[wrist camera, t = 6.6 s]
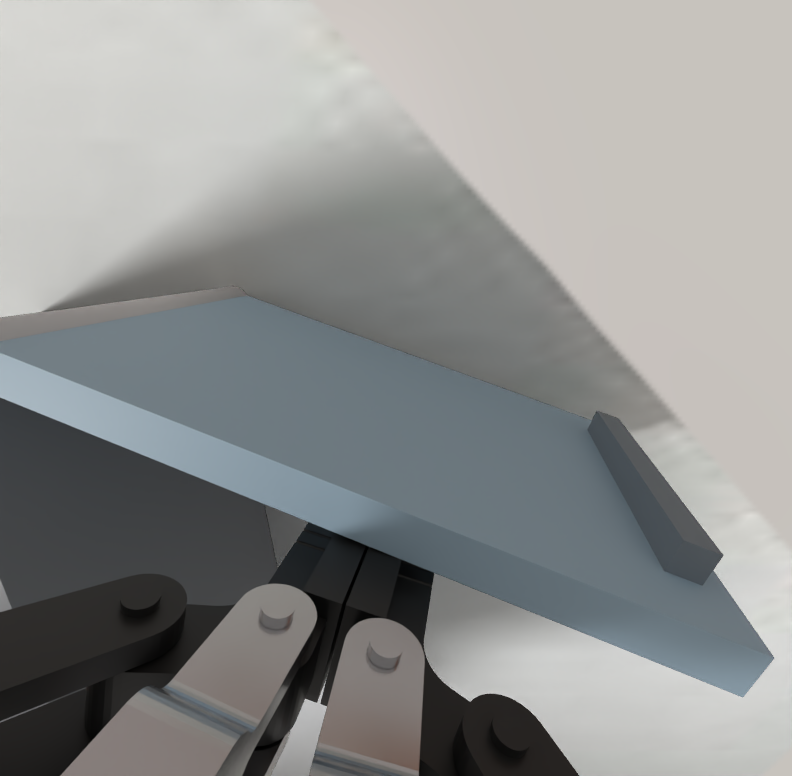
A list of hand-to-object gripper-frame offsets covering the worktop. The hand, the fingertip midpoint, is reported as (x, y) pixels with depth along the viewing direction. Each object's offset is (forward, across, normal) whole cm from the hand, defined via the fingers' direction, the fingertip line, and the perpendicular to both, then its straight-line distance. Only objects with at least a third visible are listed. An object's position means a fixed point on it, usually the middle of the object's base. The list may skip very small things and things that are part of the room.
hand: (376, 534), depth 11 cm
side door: (+9, +1, -2) cm, 9 cm away
